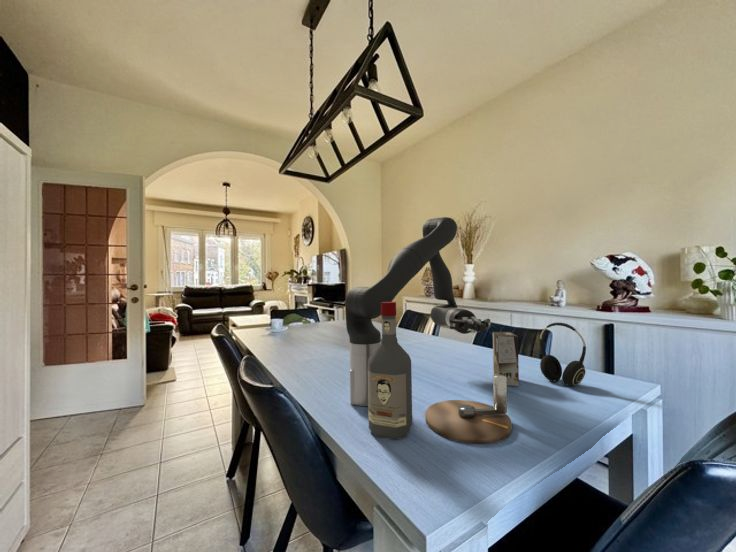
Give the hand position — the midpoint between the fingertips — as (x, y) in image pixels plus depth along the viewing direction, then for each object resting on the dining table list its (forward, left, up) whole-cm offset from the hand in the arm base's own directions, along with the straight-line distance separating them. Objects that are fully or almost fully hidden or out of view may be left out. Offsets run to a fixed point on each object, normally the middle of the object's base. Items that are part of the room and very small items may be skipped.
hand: (482, 328), depth 83 cm
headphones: (+34, +17, -22) cm, 44 cm away
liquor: (-26, -9, -22) cm, 35 cm away
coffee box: (+17, +21, -22) cm, 35 cm away
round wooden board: (-7, -7, -22) cm, 24 cm away
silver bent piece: (-3, -7, -20) cm, 21 cm away
